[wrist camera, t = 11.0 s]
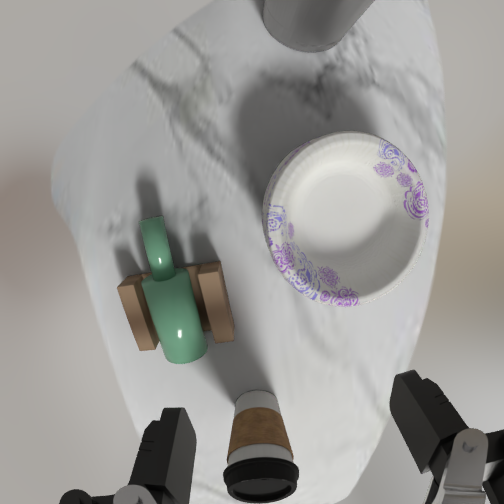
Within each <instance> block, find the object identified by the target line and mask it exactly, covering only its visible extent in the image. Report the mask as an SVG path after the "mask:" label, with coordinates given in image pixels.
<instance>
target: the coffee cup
mask: <svg viewBox="0 0 504 504" xmlns="http://www.w3.org/2000/svg"><path fill="white" fill-rule="evenodd" d="M293 457H294V456H293V453H292V449H291V446H290V443H289V439H288V436H287V433H286V429H285V426H284V422H283V419H282V416H281V412H280V408H279V404H278V401H277V399H276V397H275V396H274V395H273V394H271V393H269V392H266V391H261V390H255V391H249V392H246V393H244V394H242V395H241V396H240V397H239V398H238V399H237V401H236V406H235V413H234V420H233V425H232V431H231V437H230V443H229V449H228V455H227V463H228V467H227V468H226V469H225V470H224V472H223V477H224V482H225V484H226V485H227V491H228V493H229V495H230V496H231V497H233V498H235V499H237V500H239V501H242V502H247V503H259V504H260V503H270V502H275V501H279V500H282V499H284V498H286V497H288V496H290V495H292V494H293V493H294V492H295V490H296V488H297V480H298V478H299V469H298V467H297V466H296V464H294V463H293Z"/></svg>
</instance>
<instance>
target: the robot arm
mask: <svg viewBox="0 0 504 504" xmlns="http://www.w3.org/2000/svg"><path fill="white" fill-rule="evenodd" d="M374 1H375V0H265V2H264V9H263V20H264V24H265V26H266V28H267V30H268V32H269V33H270V34H271V35H272V36H273V37H274V38H275V39H276V40H277V41H279V42H280V43H282V44H283V45H285V46H287V47H289V48H292V49H295V50H298V51H303V52H320V51H325V50H328V49H330V48H332V47H334V46H335V45H336V44H337V43H338V42H339V41H340V40H341V39H342V38H343V37H344V36H345V34H346V33H347V32H348V31H349V30H350V29H351V27H352V26H353V25H354V24H355V23H356V22H357V20H358V19H359V18H360V17H361V16H362V15H363V13H364V12H365V11H366V10H367V9H368V8H369V6H370V5H371V4H372V3H373V2H374ZM390 411H391V414H392V416H393V418H394V420H395V422H396V424H397V426H398V428H399V430H400V432H401V434H402V436H403V438H404V440H405V442H406V444H407V446H408V447H409V450H410V452H411V454H412V456H413V458H414V460H415V462H416V464H417V466H418V468H419V471H420V473H421V474H423V473H425V472H428V471H430V470H431V472H432V474H433V476H432V478H431V481H430V484H429V487H428V490H427V493H426V497H425V499H424V502H423V504H485V499H486V494H487V496H488V499H489V501H490V503H491V504H504V430H500V431H496V432H491V433H486V434H484V433H483V432H482V431H480V430H478V429H474V428H469V427H468V426H467V425H466V424H465V422H464V421H463V419H462V418H461V416H460V415H459V414H458V412H457V411H456V409H455V408H454V407H453V405H452V404H451V402H449V400H448V398H447V397H446V396H445V395H444V393H443V391H442V390H441V389H440V387H439V386H438V385H437V384H436V383H434V382H433V381H431V380H429V379H428V378H426V379H423V380H422V379H421V377H420V376H419V375H418V373H417V372H416V371H415V370H410V371H407V372H404V373H401V374H397V375H396V376H395V378H394V383H393V388H392V393H391V397H390ZM196 443H197V442H196V434H195V431H194V428H193V426H192V424H191V421H190V419H189V417H188V414H187V412H186V410H185V408H164V409H163V411H162V415H161V418H160V421H155V420H153V421H152V422H151V423H150V424H149V425H148V427H147V428H146V429H145V431H144V434H143V437H142V443H141V444H140V447H139V451H138V454H137V457H136V460H135V464H134V467H133V471H132V475H131V478H130V481H129V483H128V485H127V486H124V487H123V488H121V489H119V490H118V491H117V492H116V494H114V495H109V496H96V497H91V496H90V495H88V494H87V493H86V492H84V491H82V490H78V489H74V490H70V491H68V492H66V493H65V494H64V495H63V496H62V498H61V500H60V503H59V504H189V499H190V491H191V483H192V475H193V467H194V460H195V452H196ZM482 486H483V488H484V490H485V492H486V493H485V492H484V491H482Z"/></svg>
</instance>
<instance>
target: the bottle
mask: <svg viewBox="0 0 504 504" xmlns="http://www.w3.org/2000/svg"><path fill="white" fill-rule="evenodd" d="M139 224H140V228H141V233H142V237H143V241H144V245H145V250H146V254H147V258H148V262H149V265H150V269H151V273H152V274H151V275H149V276H147V277H146V278H144V279H143V280H142V282H141V284H142V288H143V291H144V294H145V298H146V301H147V304H148V307H149V311H150V314H151V317H152V320H153V323H154V326H155V329H156V332H157V335H158V338H159V341H160V344H161V346H162V349H163V352H164V355H165V357H166V359H167V360H168V361H169V362H171V363H175V364H185V363H190V362H193V361H195V360H197V359H199V358H201V357H202V356H203V355H204V354H205V353H206V351H207V349H208V346H207V342H206V338H205V335H204V331H203V327H202V324H201V320H200V316H199V312H198V308H197V304H196V301H195V297H194V293H193V288H192V284H191V280H190V276H189V272H188V270H187V269H183V268H174V264H173V260H172V256H171V251H170V247H169V243H168V238H167V234H166V229H165V224H164V220H163V216H156V217H151V218H147V219H144V220H141V221H139Z"/></svg>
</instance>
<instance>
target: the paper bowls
mask: <svg viewBox="0 0 504 504" xmlns="http://www.w3.org/2000/svg"><path fill="white" fill-rule="evenodd" d="M428 214H429V212H428V202H427V196H426V192H425V189H424V186H423V183H422V180H421V179H420V176H419V174H418V172H417V170H416V169H415V167H414V166H413V164H412V163H411V161H410V160H409V159H408V158H407V157H406V156H405V155H404V154H403V153H402V152H401V151H400V150H399V149H398V148H397V147H396V146H394V145H393V144H391V143H390V142H388V141H386V140H384V139H383V138H381V137H378V136H376V135H373V134H370V133H365V132H359V131H339V132H334V133H331V134H327V135H324V136H321V137H318V138H315V139H312V140H310V141H308V142H306V143H304V144H302V145H300V146H299V147H297V148H296V149H294V150H293V151H291V152H290V153H289V154H288V155H287V156H286V157H285V158H284V159H283V160H282V162H281V163H280V164H279V165H278V167H277V168H276V170H275V171H274V173H273V175H272V177H271V179H270V181H269V183H268V186H267V189H266V192H265V196H264V200H263V207H262V224H263V231H264V235H265V239H266V243H267V246H268V248H269V251H270V254H271V256H272V258H273V261H274V263H275V264H276V266H277V268H278V269H279V271H280V272H281V274H282V275H283V277H284V278H285V279H286V280H287V281H288V282H289V283H290V284H291V285H292V286H293V287H294V288H295V289H296V290H298V291H299V292H300V293H302V294H303V295H305V296H306V297H308V298H310V299H312V300H315V301H317V302H320V303H323V304H327V305H332V306H356V305H361V304H365V303H368V302H371V301H373V300H376V299H378V298H380V297H382V296H384V295H385V294H387V293H389V292H390V291H392V290H393V289H394V288H395V287H396V286H398V285H399V284H400V283H401V282H402V281H403V280H404V279H405V277H406V276H407V275H408V274H409V273H410V271H411V270H412V269H413V267H414V266H415V264H416V262H417V260H418V258H419V256H420V254H421V251H422V249H423V246H424V243H425V240H426V235H427V229H428V221H429V219H428V217H429V216H428Z"/></svg>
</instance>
